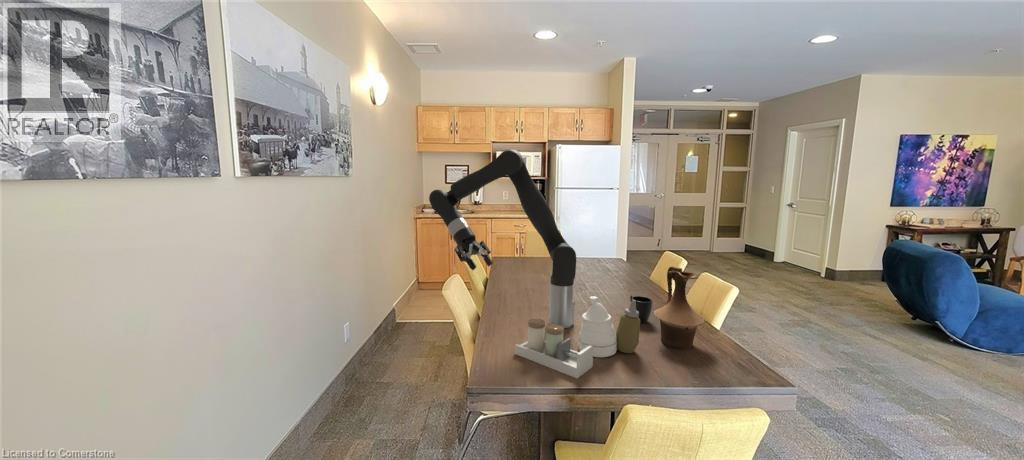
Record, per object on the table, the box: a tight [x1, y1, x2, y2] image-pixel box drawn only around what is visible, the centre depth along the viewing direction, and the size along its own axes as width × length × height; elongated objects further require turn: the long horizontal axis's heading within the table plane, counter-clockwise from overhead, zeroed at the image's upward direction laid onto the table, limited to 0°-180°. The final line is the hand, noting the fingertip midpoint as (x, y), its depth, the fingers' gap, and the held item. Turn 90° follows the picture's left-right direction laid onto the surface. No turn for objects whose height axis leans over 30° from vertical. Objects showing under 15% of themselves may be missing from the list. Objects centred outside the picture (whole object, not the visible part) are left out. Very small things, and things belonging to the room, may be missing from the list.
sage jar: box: [545, 324, 565, 358], centre depth 124 cm, size 6×6×10 cm
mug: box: [629, 294, 653, 324], centre depth 161 cm, size 8×12×10 cm
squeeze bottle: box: [615, 300, 641, 354], centre depth 131 cm, size 8×8×18 cm
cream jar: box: [527, 318, 546, 353], centre depth 128 cm, size 6×6×10 cm
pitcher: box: [653, 265, 706, 350], centre depth 138 cm, size 18×17×28 cm
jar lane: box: [514, 339, 594, 379], centre depth 124 cm, size 24×10×7 cm, turn 50°
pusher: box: [556, 337, 576, 361], centre depth 120 cm, size 5×7×6 cm
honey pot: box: [578, 295, 618, 358], centre depth 131 cm, size 13×13×18 cm
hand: (482, 266), depth 140 cm, fingers open, 8 cm apart
